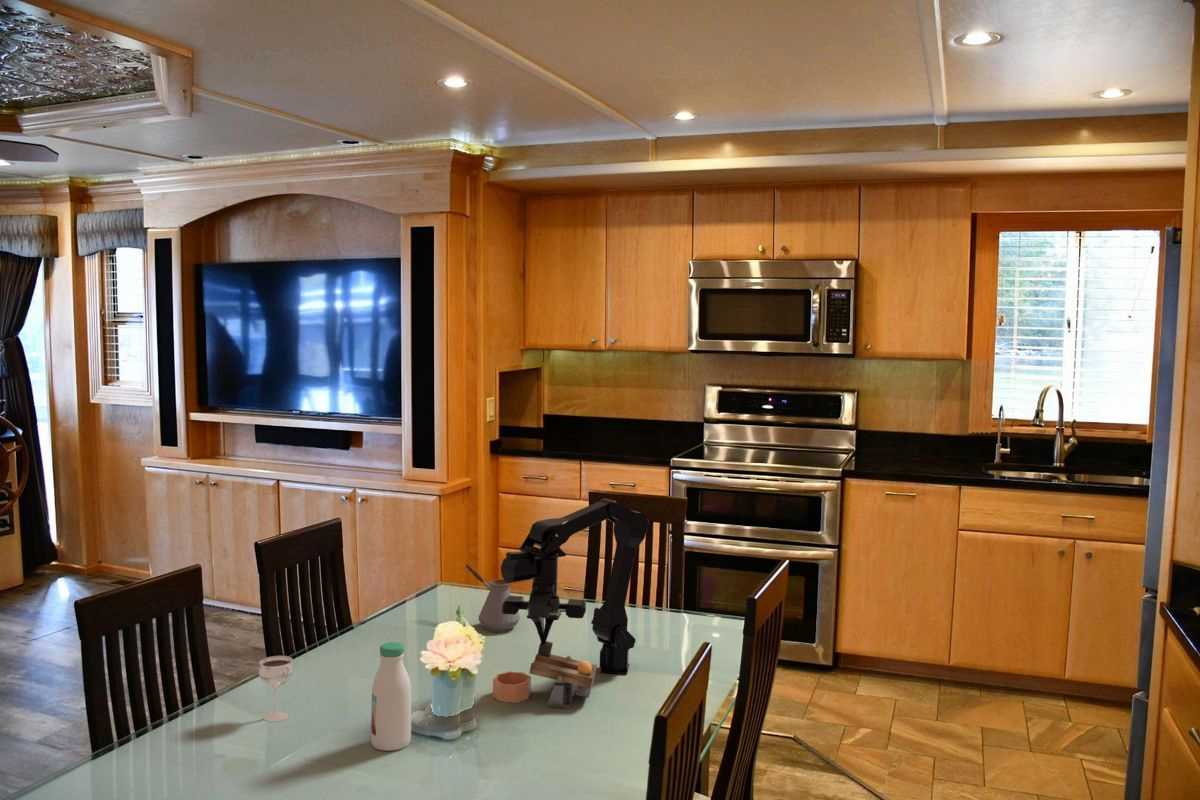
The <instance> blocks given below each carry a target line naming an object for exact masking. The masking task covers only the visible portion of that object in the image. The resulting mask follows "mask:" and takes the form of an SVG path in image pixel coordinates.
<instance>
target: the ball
mask: <svg viewBox="0 0 1200 800" xmlns="http://www.w3.org/2000/svg"><path fill="white" fill-rule="evenodd" d="M591 664H592V663H590V661H586V660H583V661H581V663H580V664H579V665H578V672H579V674H580V675H584V676H587V675H589V674H590V673H591V671H592V666H591Z"/></svg>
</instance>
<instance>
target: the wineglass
mask: <svg viewBox="0 0 1200 800" xmlns="http://www.w3.org/2000/svg"><path fill="white" fill-rule="evenodd" d="M292 663H293V658H292V657H291V656H287V655H273V656H268V657H264V658H263V659H261V660H260V661H259V663H258V664H259V666H260V667H259V669H258V676H259V679H260V680H261V681H262V682H263V684H265V685H267V686H271V687H272V689H273V694H274V695H273V697H274V712H270V713H267V714H265V715H264V716H263V720H264V721H266V722H270V723H271V722H280V721H281V722H282V721H284V720H286V719H287V718H288V717H289V714H288V713H287V712H283V711H278V696H279V693H278V692H279V688H280V687H281V686H282V685H284V684H286V683H287V681H289V680H290V679H291V677H292V675H293V671H294V668H293V664H292Z"/></svg>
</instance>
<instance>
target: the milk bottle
mask: <svg viewBox="0 0 1200 800" xmlns="http://www.w3.org/2000/svg"><path fill="white" fill-rule="evenodd" d="M404 650H405V646H404V644H403V643H402V642H396V641H393V642H391V641H389V642H385V643H382V644H381V645H380V646H379V654H380V655H379V658H380V664H379V667H378V670H377V672H376V674H375V676H374V679H373V682H372V685H371V686H372V688H371V714H370V715H371V716H370V717H371V719H370V720H371V722H370V724H371V725H370V727H371V728H370V729H371V730H370V731H371V734H370V735H371V745H372V747H373V748H374V749H376V750H379V751H384V752H385V751H386V752H393V751H398V750H402V749H404V748H406V747H407V746H408V745H409V744H410V742H411V740H412V684H411V679H410V676H409V673H408V672H407V671H408V670H406V667H405V664H404V660H403V657H404Z"/></svg>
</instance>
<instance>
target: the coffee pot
mask: <svg viewBox="0 0 1200 800" xmlns="http://www.w3.org/2000/svg"><path fill="white" fill-rule="evenodd" d="M465 567H466V569H464V568H465ZM462 569H463V571H465V572H466V571H469V572H471V574H472V575H473V576H474V577H475V578H476V579H477V580H479V581H480V582H481V583H482V584H483V585H484V586H485V587H486V588H487V589H488V590H489V593H488V595H487V597H486V599H485V602H484V604H483V606H482V607H481V610H480V612H479V615H478V622H479V623H480V624H481V626H482V627H484V629H485V630H487V631H490V632H495V633H499V632H501V633H503V632H508V631H511V630H513V628H514V627H516V626H517V624H518V623H519V621H520V619H521V618H520V617H521V616H520V612H519V611H518V612H517V613H516V614H503V613H502V605H503V602H504V601H505V600H506V598H507V597H508V596H512V594H511V591H510V586H511V585H512V583H506V582H505V581H504V579H503V578H502V579H501V578H500V579H492V580H489V581H488V583H487V582H486V581H485V579H484V578H483V577H482V575H480V574H479V572H478V571H475V569H473V567H471V566H470V565H469V564H465V565H464V566H463V568H462Z"/></svg>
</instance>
